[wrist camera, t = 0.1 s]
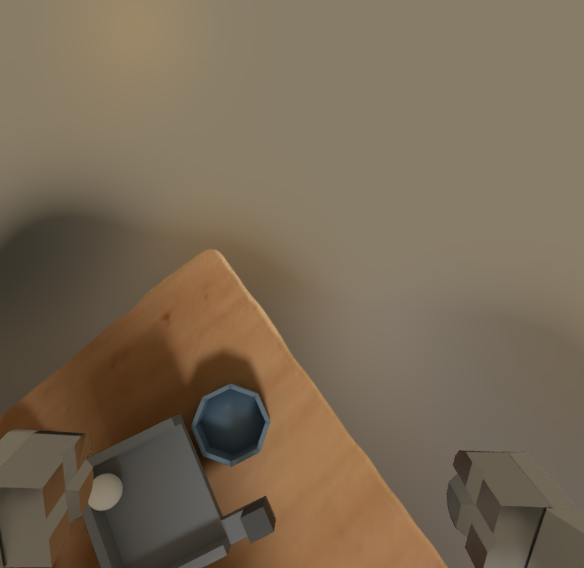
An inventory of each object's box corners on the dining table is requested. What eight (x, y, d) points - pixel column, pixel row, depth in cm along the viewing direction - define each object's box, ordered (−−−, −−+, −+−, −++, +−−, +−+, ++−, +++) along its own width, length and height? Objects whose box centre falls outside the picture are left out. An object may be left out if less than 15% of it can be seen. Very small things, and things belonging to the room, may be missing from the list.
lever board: (275, 518, 50) (273, 531, 46) (129, 592, 49) (115, 611, 45) (221, 392, 53) (215, 396, 49) (81, 460, 52) (65, 468, 48)
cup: (278, 435, 60) (279, 442, 55) (215, 467, 59) (211, 477, 54) (250, 373, 62) (249, 374, 57) (188, 403, 60) (182, 406, 55)
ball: (133, 494, 50) (117, 507, 46) (104, 508, 50) (86, 522, 46) (121, 463, 50) (105, 473, 46) (93, 477, 50) (74, 488, 46)
